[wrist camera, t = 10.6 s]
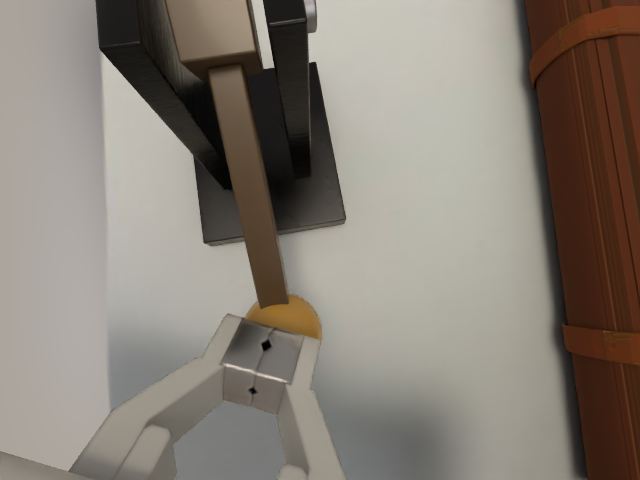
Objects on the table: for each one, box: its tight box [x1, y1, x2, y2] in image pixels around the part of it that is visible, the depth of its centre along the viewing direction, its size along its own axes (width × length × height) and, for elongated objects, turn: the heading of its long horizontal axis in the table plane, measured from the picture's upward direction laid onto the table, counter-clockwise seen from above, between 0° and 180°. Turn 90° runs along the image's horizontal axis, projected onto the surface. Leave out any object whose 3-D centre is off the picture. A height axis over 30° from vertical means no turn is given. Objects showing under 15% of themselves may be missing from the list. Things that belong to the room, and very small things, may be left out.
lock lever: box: [164, 0, 322, 348], centre depth 11 cm, size 14×3×3 cm, turn 10°
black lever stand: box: [96, 0, 346, 246], centre depth 14 cm, size 10×8×12 cm
